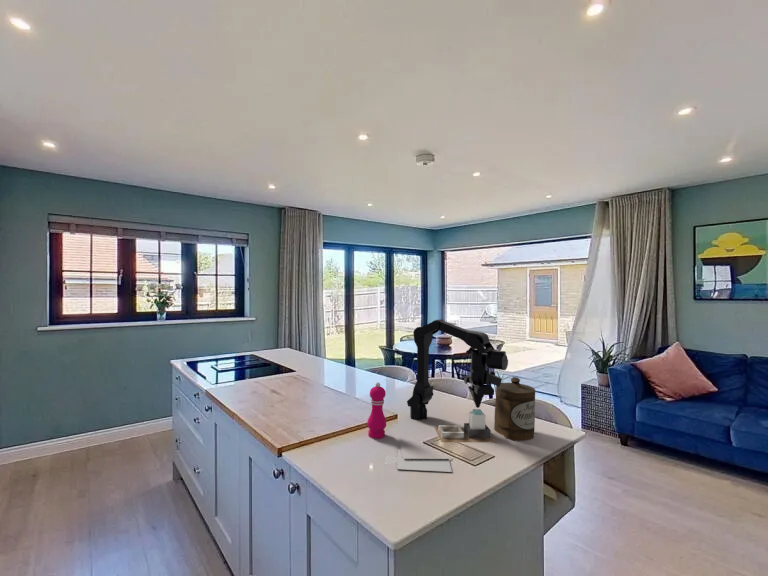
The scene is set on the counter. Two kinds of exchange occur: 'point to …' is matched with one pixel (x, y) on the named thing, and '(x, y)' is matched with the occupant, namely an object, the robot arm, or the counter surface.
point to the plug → (477, 419)
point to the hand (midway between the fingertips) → (477, 407)
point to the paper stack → (419, 463)
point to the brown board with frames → (463, 434)
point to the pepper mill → (377, 413)
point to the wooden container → (515, 410)
